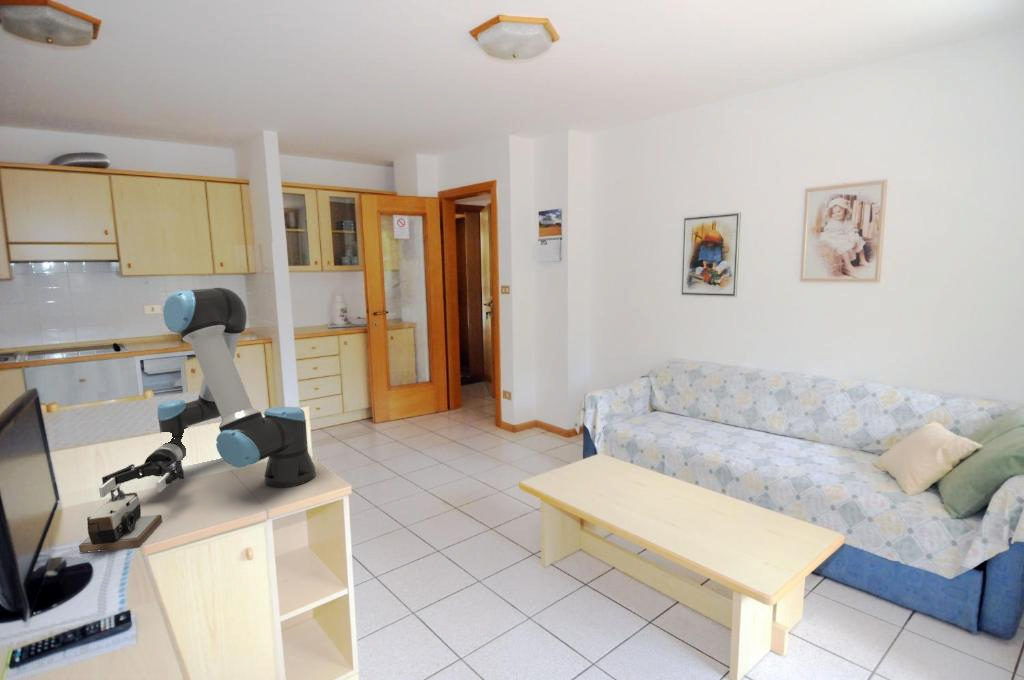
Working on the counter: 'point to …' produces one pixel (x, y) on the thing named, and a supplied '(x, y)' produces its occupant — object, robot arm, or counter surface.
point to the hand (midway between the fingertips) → (130, 489)
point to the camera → (114, 517)
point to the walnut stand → (127, 536)
